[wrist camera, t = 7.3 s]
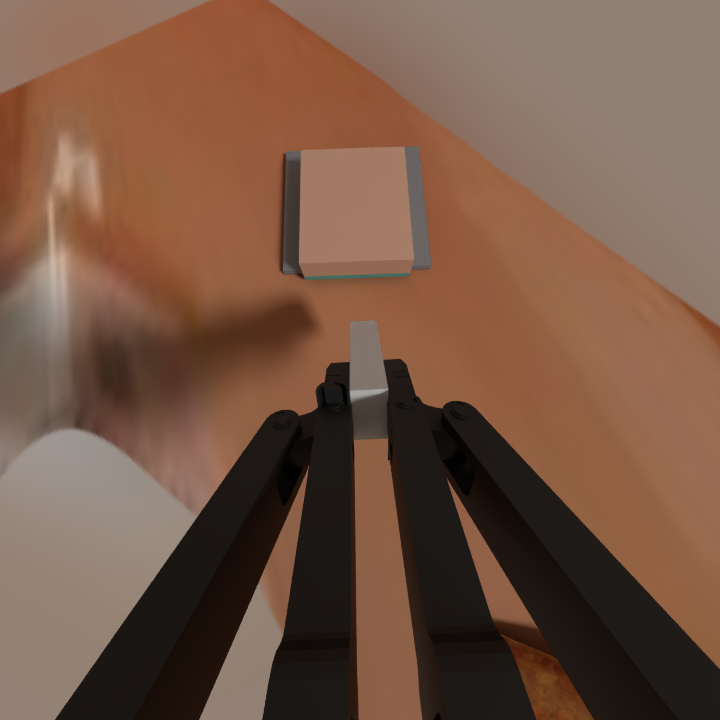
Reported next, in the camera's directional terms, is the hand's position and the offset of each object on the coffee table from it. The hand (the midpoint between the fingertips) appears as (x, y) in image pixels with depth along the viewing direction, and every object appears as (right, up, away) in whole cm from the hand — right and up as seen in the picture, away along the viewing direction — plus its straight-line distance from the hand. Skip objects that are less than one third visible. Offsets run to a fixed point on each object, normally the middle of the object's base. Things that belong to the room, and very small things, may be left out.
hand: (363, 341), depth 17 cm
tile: (0, +6, +6) cm, 9 cm away
